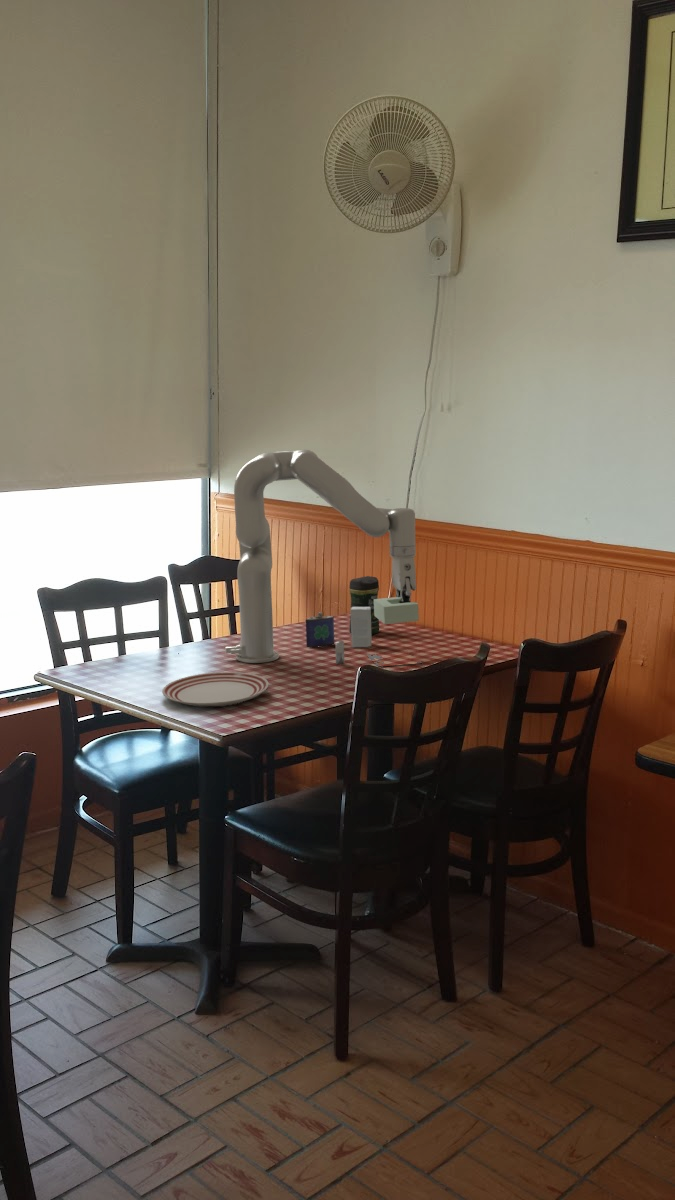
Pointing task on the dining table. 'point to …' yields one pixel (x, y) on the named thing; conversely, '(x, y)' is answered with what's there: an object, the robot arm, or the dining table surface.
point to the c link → (395, 610)
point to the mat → (379, 658)
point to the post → (339, 652)
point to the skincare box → (361, 626)
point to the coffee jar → (365, 597)
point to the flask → (319, 630)
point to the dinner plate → (215, 688)
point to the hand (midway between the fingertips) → (403, 612)
